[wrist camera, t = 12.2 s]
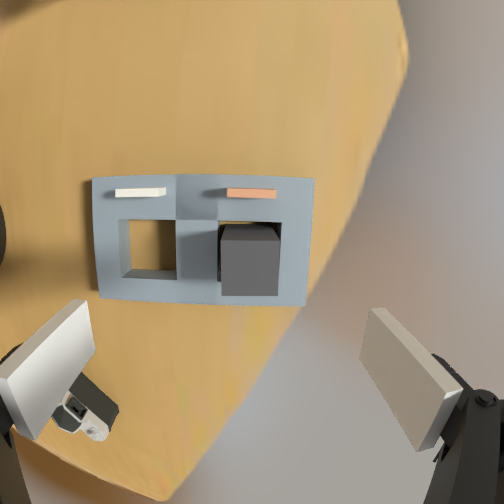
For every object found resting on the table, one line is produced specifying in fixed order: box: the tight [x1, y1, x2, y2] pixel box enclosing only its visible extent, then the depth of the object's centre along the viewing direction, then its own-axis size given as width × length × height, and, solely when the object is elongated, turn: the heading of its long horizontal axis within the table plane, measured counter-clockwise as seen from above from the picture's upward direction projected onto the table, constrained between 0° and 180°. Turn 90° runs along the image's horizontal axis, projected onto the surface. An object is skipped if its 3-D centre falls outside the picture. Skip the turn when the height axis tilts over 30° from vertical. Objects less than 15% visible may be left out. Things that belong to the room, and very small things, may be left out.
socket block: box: [92, 174, 315, 306], centre depth 33 cm, size 24×14×7 cm, turn 88°
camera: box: [51, 372, 119, 442], centre depth 36 cm, size 16×9×10 cm, turn 39°
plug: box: [221, 224, 280, 296], centre depth 32 cm, size 5×5×10 cm
